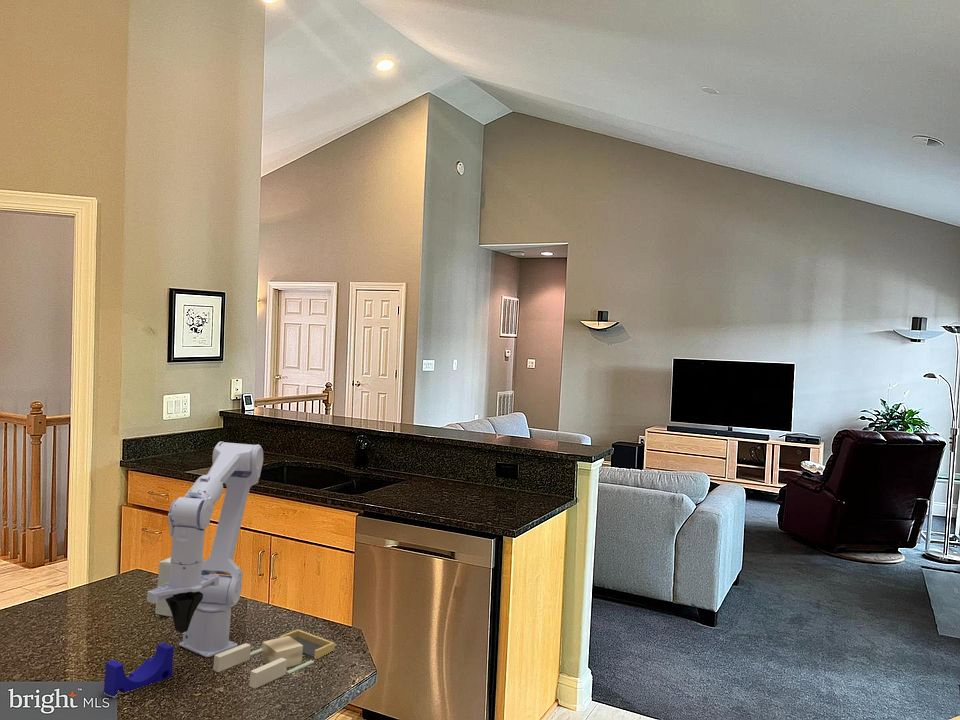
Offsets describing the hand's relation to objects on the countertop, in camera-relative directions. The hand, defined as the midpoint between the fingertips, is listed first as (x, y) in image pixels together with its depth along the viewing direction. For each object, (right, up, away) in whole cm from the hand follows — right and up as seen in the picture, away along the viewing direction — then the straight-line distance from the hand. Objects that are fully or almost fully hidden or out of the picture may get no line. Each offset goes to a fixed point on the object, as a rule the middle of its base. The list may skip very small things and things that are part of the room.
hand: (181, 630), depth 139 cm
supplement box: (-15, -9, +34) cm, 39 cm away
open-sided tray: (+19, -11, +20) cm, 30 cm away
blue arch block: (-8, -10, -2) cm, 13 cm away
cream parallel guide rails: (+11, -11, +6) cm, 17 cm away
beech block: (+16, -11, +12) cm, 23 cm away
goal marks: (+15, -11, +13) cm, 23 cm away
